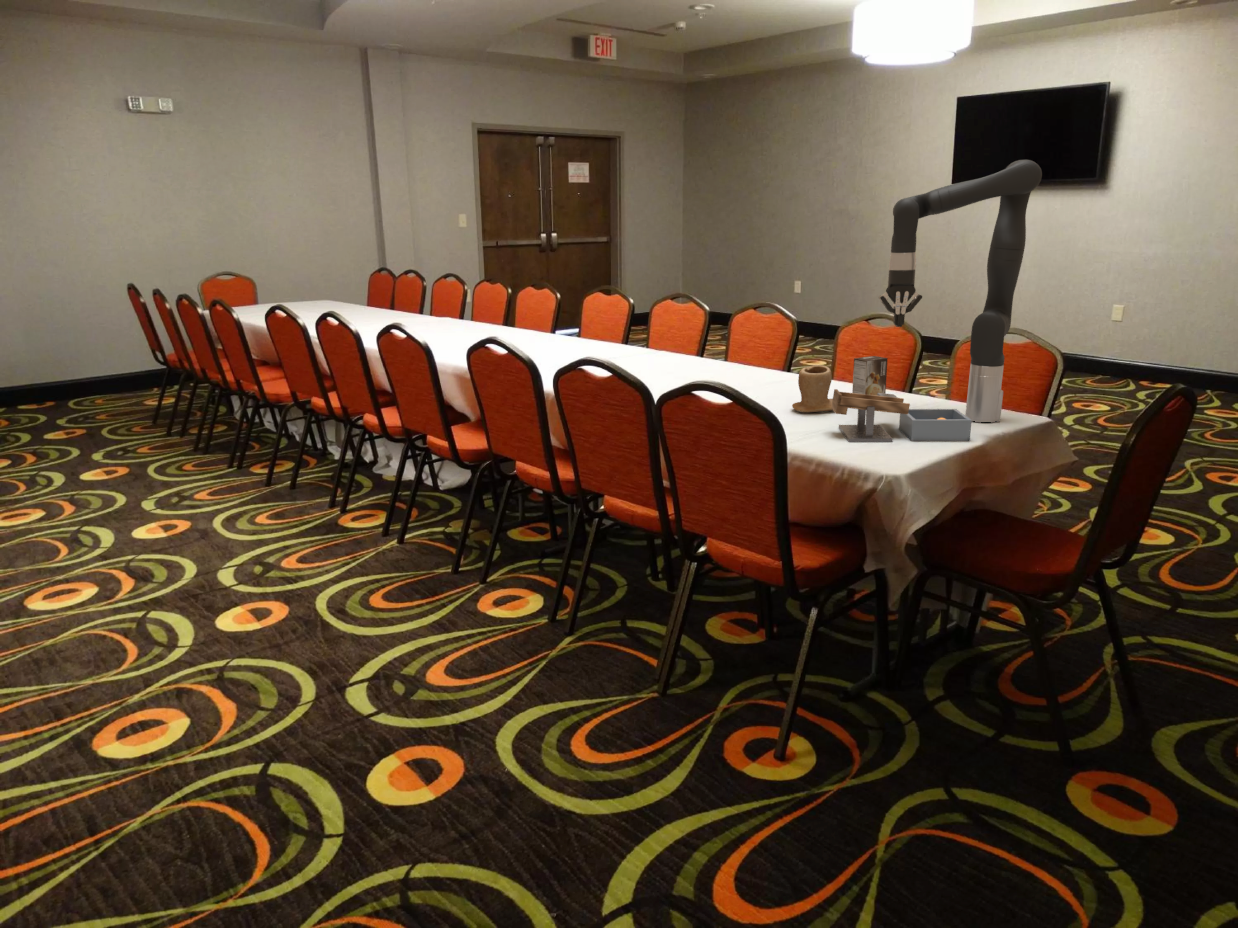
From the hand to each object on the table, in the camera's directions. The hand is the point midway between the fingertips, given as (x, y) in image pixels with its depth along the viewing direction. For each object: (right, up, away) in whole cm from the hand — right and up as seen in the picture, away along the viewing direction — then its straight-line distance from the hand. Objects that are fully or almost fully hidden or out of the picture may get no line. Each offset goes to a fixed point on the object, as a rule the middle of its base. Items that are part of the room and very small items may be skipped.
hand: (898, 326), depth 255 cm
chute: (-13, -26, -8) cm, 30 cm away
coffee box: (-2, -23, +25) cm, 33 cm away
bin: (+6, -33, -13) cm, 36 cm away
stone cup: (-20, -25, +18) cm, 37 cm away
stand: (-14, -33, -11) cm, 38 cm away
